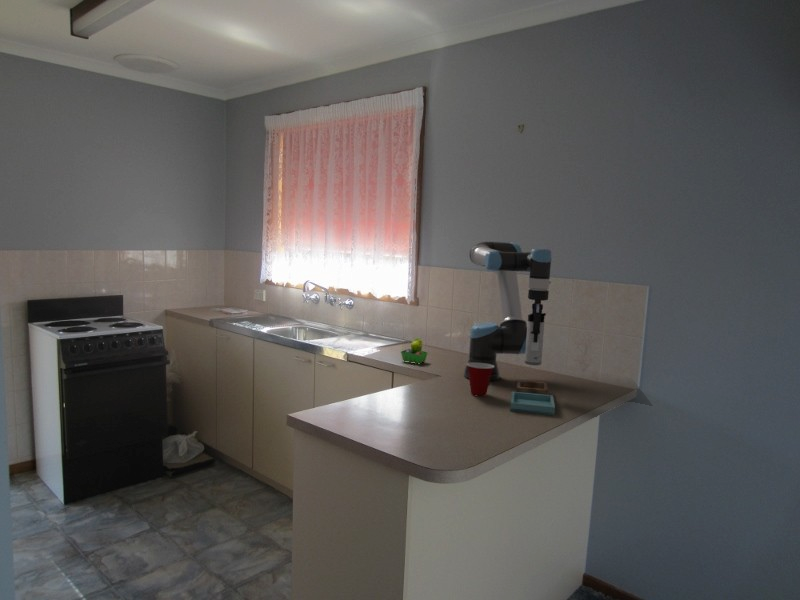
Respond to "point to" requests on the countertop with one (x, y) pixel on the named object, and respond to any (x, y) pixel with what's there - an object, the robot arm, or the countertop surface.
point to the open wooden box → (532, 387)
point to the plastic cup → (479, 377)
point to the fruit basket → (415, 352)
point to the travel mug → (530, 355)
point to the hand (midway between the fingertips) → (534, 348)
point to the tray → (532, 403)
